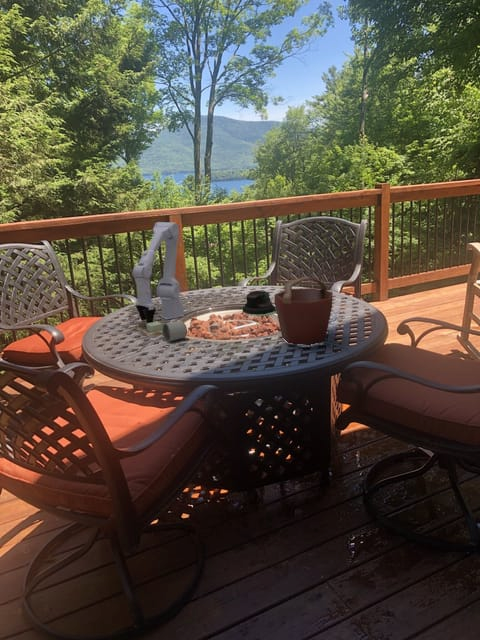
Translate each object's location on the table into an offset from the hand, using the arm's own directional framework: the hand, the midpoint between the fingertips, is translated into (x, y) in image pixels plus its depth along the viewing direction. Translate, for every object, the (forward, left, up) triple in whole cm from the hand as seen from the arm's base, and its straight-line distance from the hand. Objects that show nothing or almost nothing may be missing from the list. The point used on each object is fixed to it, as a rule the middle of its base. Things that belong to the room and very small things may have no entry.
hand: (146, 322), depth 215 cm
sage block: (0, +9, -2) cm, 9 cm away
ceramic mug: (-3, +22, -3) cm, 22 cm away
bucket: (-44, +55, -3) cm, 71 cm away
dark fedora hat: (-54, +8, -3) cm, 55 cm away
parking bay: (0, +7, -2) cm, 8 cm away
